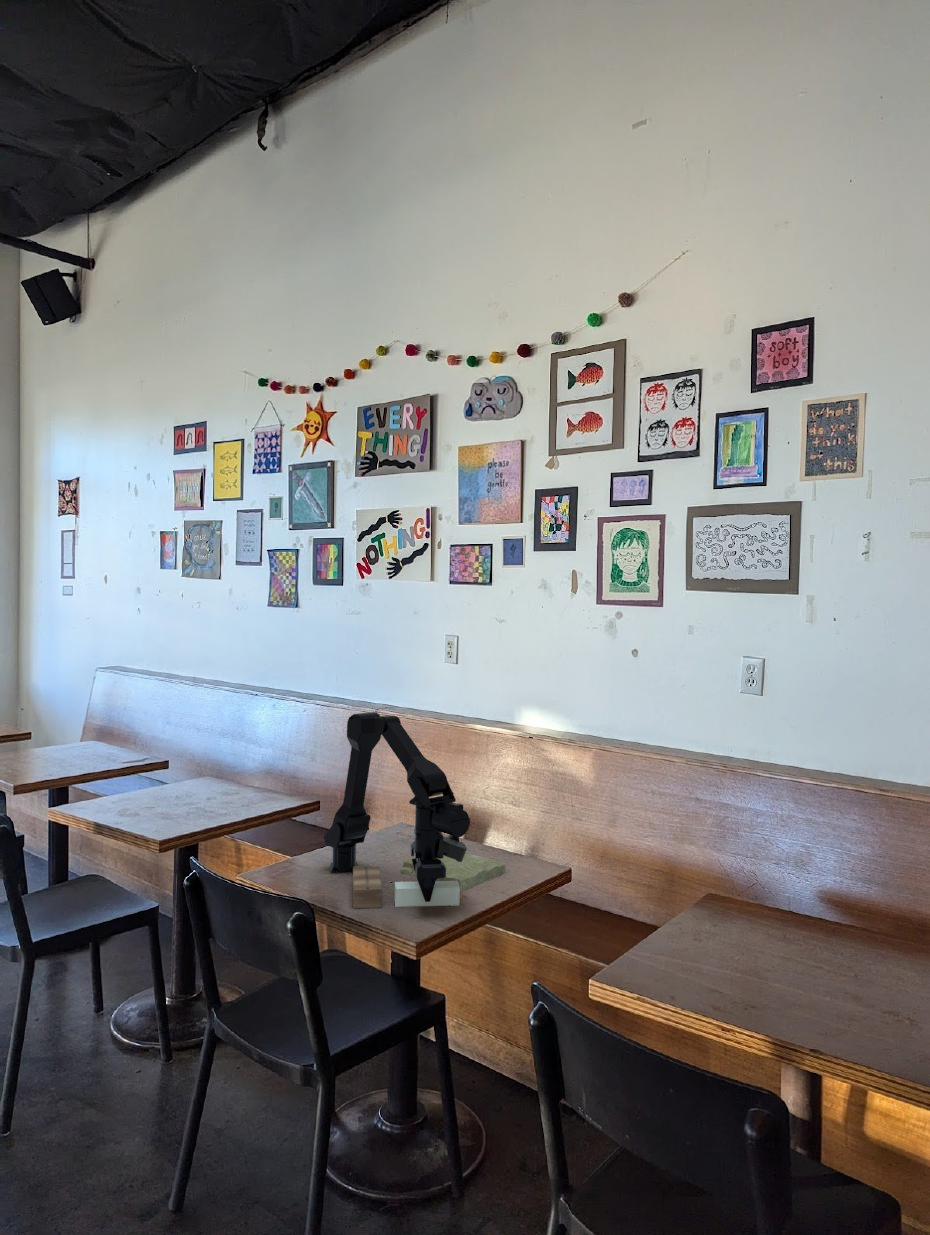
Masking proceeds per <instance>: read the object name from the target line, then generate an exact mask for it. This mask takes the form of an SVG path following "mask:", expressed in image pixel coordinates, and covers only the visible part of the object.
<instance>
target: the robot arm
mask: <svg viewBox="0 0 930 1235" xmlns="http://www.w3.org/2000/svg"><path fill="white" fill-rule="evenodd" d="M382 737H383V739H384V740H385V741H386V743H387V744H388V746H389V747H390V749H391V750H392V752H393V753H394V755H395V756H396V757H397V759H398V760H399V762H400V763H401V766H403V767H404V769H405V772H406V782H407V783H408V786H409V788H410V789H411V792H412V793H413V795H414V796H413V798H411V799H410V800H409V805H412V806H415V821H414V822H415V823H414V824H415V827H414V830H413V835H414V841H413V842H412V843H411V844H410V846H409V847H410V849H409V850H410V857H414V856H415V858H414V859H412V862H413V866H414V869H415V874H416V876H415V877H416V879H417V882H418V883H419V886H420V888H421V891H422V894H423V897H424V900H425V902H430V900H431V896H432V893H433V889H434V885H435V882H436V880H437V879H438V878H445V877H446V867H445V864H444V863H443V862H442V861H441V860H438V859H442V858H443V855H444V856H447V857H449V858H452V859H455V860H456V861H458V862H462V860H463V858H464V855H465V853H467V850H468V848H467V846H466V844H465V843H463V841H460V838H461V837H463V836H465V835H466V834H467V832H469V828H470V825H471V818H470V816H469V813H468V812H467V811H466V810H464V804H463V803H455V802H456V801H457V800H456V798H455V797H456V796H455V793H454V791H453V790H452V788H451V786H450V784H449V781H448V778H447V775H446V773H445V772H444V771H443V770H442V769H441V767H439V766H438V765H437V764H436V763H435V762H433V761H431V760H429V759H427V758H426V757H425V756H424V754H422V752H421V751H420V749H419V747H417V745H416V743H415V742H414V741H413V739H412V738H411V736H410V735H409V734H408V731H406V729H405V728H404V727H403V725H402V723H401V720H400V717H398V716H397V715H394V714H393V715H381V714H380V713H378V712H377V711H376V712H375V711H371V712H361V713H360V712H359V713H354V714H351V715H350V716H349V717H348V720H347V725H346V738H347V740H348V743H349V745H350V749H351V750H350V754H349V755H350V756H349V757H350V758H349V764H348V769H347V775H346V777H347V778H346V783H345V789H344V796H343V801H342V804H341V805H340V806H339V808H338V809H337V811H336V812H335V814H334V818H333V821H332V824H331V827H330V828H329V829H328V830H327V831H326V833H325V834H324V836H323V839H324V840H323V841H324V845H325V846H328V847H330V848H332V862H330V873H353V866H358V862H357V845H358V844H361V843H364V842H365V838H366V835H367V834H368V833H367V832H368V831H370V821H371V815H370V814H368V813H367V810H366V808H365V806H364V805H365V799H366V793H367V792H366V791H367V786H368V781H369V779H368V778H369V773H370V766H371V760H372V754H373V750H374V748H375V747H376V746H377V744H378V743H379V742H380V741H381V738H382ZM444 834H447V835H449V836H444Z"/></svg>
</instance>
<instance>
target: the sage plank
mask: <svg viewBox="0 0 930 1235" xmlns="http://www.w3.org/2000/svg"><path fill="white" fill-rule="evenodd" d="M460 894H461V891H460V887H459V884H458V881H436V882H435V885H434V889H433V893H432V896H431V900H430V902H425V900H424V897H423V894H422V891H421V888H420V886H419V883H418V881H395V882H394V899H393V901H394V905H395V907H396V908H397V907H398V908H399V907H400V908H403V907H404V908H406V907H440V906H441V907H442V906H443V907H444V906H445V907H447V906H449V905H450V906H451V907H453V906H454V907H456V906H460Z"/></svg>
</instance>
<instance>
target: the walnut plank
mask: <svg viewBox="0 0 930 1235" xmlns="http://www.w3.org/2000/svg"><path fill="white" fill-rule="evenodd" d="M382 887H383V886H382V880H381V872H380V866H379V865H364V866H363V865H361V866H360V865H359V866H358V865H357V866H353V872H352V903H353V909H372V908H373V909H374V908H378V909H379V908H382V905H383V904H382V901H383V900H382V897H383V896H382V895H383V889H382Z"/></svg>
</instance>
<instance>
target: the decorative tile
mask: <svg viewBox="0 0 930 1235" xmlns="http://www.w3.org/2000/svg"><path fill="white" fill-rule="evenodd" d="M414 858H415V855H414V856H411V857H409V858H408V859H407V860H405V861H403V864H402V867H401V868H400V872H401V873H402V874H404V875H408V876H414V877H416V874H415V869H414V866H413V862H412V859H414ZM438 860H441V861H442V862H443V863H444V864H445V867H446V877H445V878H438V879H437V880H436V881H458V884H459V887H460V892H464V891H466V890H468V888H469V889H470V887H471V888H473V887H476V886H478V885H477V884H479V885H480V884H483V882H484V883H486V882H487V881H486V880H488V881H490V879H491V880H493V879H495V878H494V877H496V878H498V877H500V876H502V874H503V875H505V874H506V872H507V871H506V863H505V862H501V861H497V860H494V859H490V858H487V857H483V856H479V855H475V854H470V853H468V852H465V855H464V858H463V860H462V862H458V861H456V860H455V859H452V858H449V857H447V856H444V855H443V858H442V859H438ZM504 873H505V874H504ZM492 878H493V879H492ZM485 881H486V882H485Z"/></svg>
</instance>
